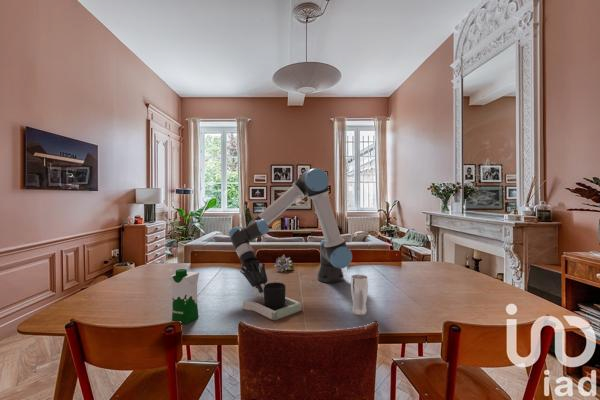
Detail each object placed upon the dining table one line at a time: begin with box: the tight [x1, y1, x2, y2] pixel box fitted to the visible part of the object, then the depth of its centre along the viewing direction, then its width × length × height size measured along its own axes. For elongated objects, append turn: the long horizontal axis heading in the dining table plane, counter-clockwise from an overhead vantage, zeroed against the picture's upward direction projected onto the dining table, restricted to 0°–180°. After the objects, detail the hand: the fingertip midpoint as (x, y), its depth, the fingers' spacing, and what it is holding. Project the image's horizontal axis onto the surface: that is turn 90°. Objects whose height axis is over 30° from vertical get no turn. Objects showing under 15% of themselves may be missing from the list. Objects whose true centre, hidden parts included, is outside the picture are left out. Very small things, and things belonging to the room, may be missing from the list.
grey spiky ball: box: [273, 254, 295, 273], centre depth 191 cm, size 11×11×12 cm
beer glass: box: [350, 274, 369, 317], centre depth 121 cm, size 7×7×15 cm
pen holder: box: [263, 282, 286, 311], centre depth 126 cm, size 9×9×10 cm
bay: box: [242, 296, 303, 321], centre depth 126 cm, size 19×20×3 cm
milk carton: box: [169, 268, 200, 325], centre depth 115 cm, size 9×9×20 cm
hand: (267, 298), depth 129 cm, fingers closed
